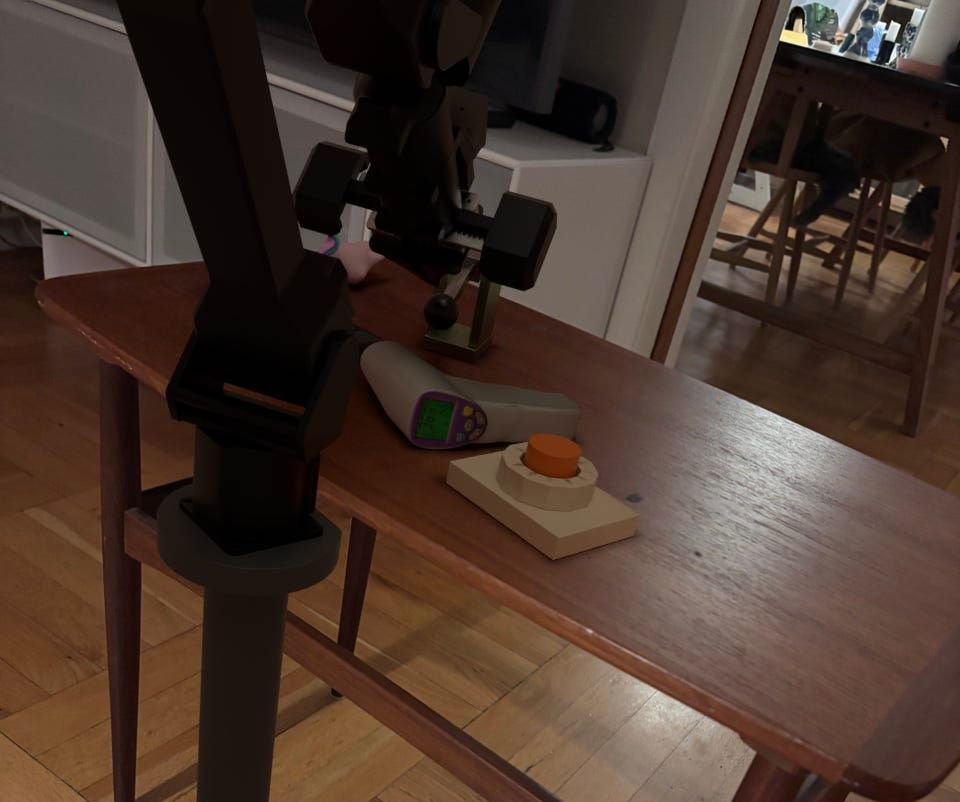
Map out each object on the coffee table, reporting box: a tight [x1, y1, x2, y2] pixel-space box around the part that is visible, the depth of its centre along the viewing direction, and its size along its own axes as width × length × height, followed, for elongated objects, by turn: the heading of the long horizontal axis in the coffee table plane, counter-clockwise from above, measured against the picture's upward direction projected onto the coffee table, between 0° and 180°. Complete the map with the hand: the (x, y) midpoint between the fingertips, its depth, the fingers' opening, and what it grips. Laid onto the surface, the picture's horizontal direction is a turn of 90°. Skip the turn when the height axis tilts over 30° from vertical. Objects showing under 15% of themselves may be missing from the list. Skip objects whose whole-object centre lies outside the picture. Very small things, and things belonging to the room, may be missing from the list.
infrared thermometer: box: [359, 340, 583, 450], centre depth 77 cm, size 5×12×15 cm
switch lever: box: [422, 249, 481, 330], centre depth 85 cm, size 11×3×3 cm, turn 163°
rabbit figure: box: [317, 234, 386, 285], centre depth 98 cm, size 6×6×15 cm
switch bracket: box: [422, 274, 503, 364], centre depth 89 cm, size 6×6×10 cm
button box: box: [445, 442, 641, 561], centre depth 67 cm, size 8×11×4 cm
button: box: [523, 434, 582, 479], centre depth 65 cm, size 4×4×2 cm
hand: (436, 280), depth 79 cm, fingers closed
